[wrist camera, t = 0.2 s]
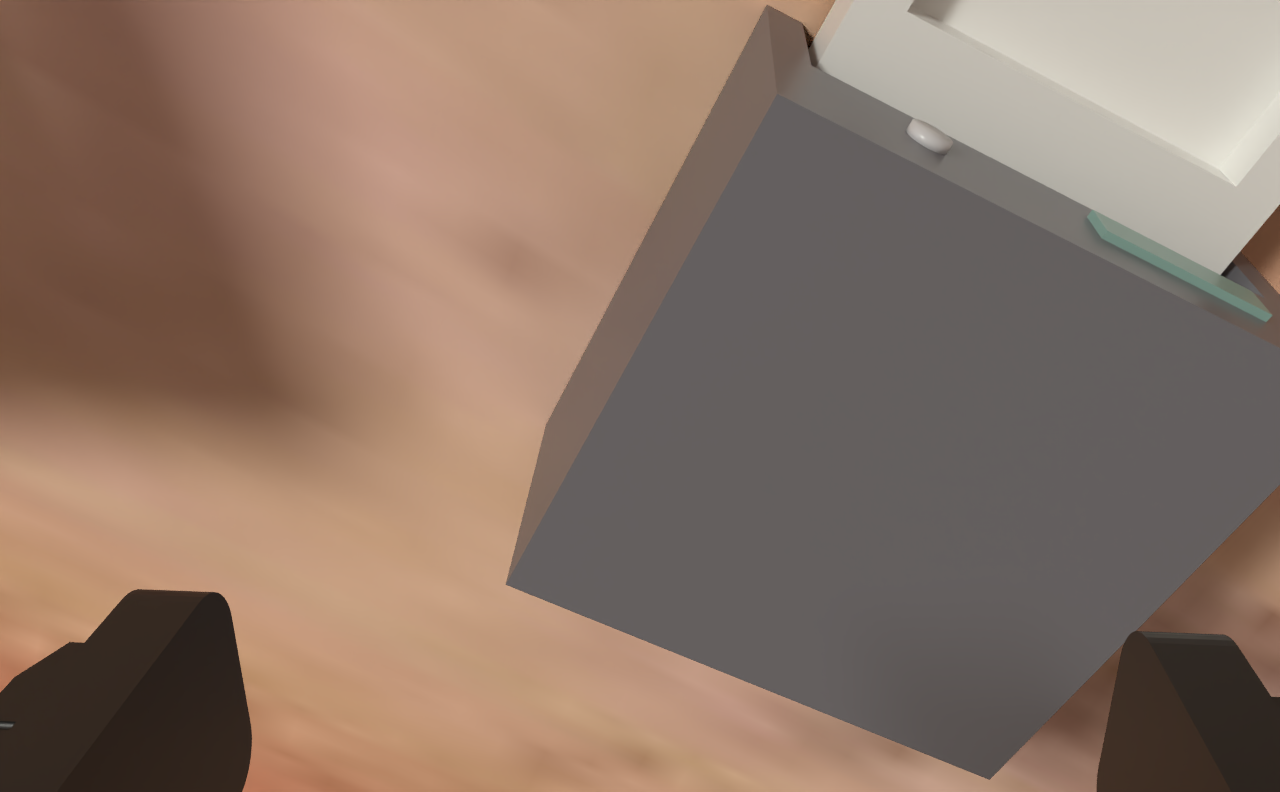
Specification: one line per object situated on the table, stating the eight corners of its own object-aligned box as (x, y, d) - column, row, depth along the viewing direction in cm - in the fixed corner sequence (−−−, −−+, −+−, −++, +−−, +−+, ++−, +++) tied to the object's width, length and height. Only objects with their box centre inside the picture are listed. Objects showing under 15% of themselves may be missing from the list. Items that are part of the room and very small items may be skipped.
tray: (1055, -518, 23) (1154, -582, 17) (1594, -173, 25) (1825, -137, 20) (723, 107, 30) (721, 198, 24) (1170, 331, 32) (1257, 458, 27)
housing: (772, -5, 28) (783, 82, 22) (1245, 242, 31) (1378, 384, 24) (545, 425, 35) (505, 584, 29) (946, 598, 38) (989, 779, 32)
